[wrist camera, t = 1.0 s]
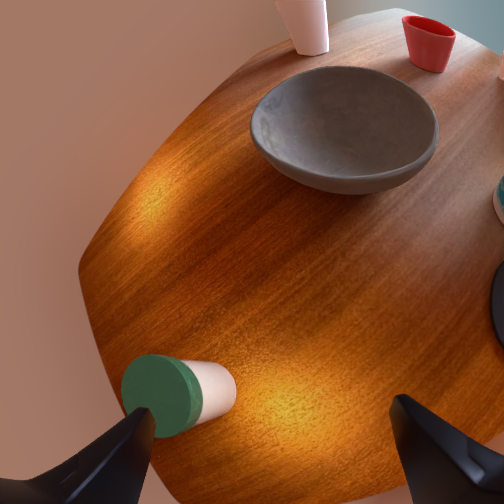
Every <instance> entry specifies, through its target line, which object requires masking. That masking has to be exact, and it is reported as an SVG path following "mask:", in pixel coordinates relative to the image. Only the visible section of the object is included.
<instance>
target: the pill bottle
mask: <svg viewBox="0 0 504 504" xmlns="http://www.w3.org/2000/svg"><path fill="white" fill-rule="evenodd" d="M493 203H494V208H495V211H496V213H497V215H498V217H499V219H500V221H501V222H502V223H503V225H504V175H503V177H502V178H501V180H500V181H499V183H498V185H497V186H496V188H495V190H494V193H493Z"/></svg>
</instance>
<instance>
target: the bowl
mask: <svg viewBox="0 0 504 504" xmlns="http://www.w3.org/2000/svg"><path fill="white" fill-rule="evenodd" d="M250 134H251V138H252V140H253V142H254V145H255V147H256V148H257V149H258V151H259V152H260V154H261V155H262V156H263V157H264V158H265V159H266V160H267V161H268V162H269V163H270V164H271V165H272V166H273V167H274V168H275V169H276V170H278V171H279V172H280V173H282V174H284V175H285V176H287V177H289V178H291V179H293V180H295V181H296V182H299V183H301V184H303V185H306V186H309V187H312V188H315V189H319V190H322V191H326V192H331V193H338V194H369V193H375V192H380V191H385V190H388V189H391V188H394V187H397V186H399V185H401V184H403V183H405V182H407V181H408V180H409V179H411V178H412V177H413V176H415V175H416V174H417V173H418V172H419V171H420V170H421V169H422V168H423V167H424V166H425V165H426V164H427V163H428V161H429V160H430V159H431V157H432V155H433V154H434V151H435V149H436V147H437V143H438V137H439V126H438V121H437V118H436V115H435V113H434V111H433V109H432V108H431V106H430V105H429V104H428V102H427V101H426V100H425V99H424V98H423V97H422V96H421V95H420V94H419V93H418V92H417V91H416V90H414V89H413V88H412V87H410V86H409V85H408V84H406V83H404V82H403V81H401V80H399V79H397V78H395V77H393V76H390V75H388V74H385V73H383V72H380V71H376V70H372V69H368V68H362V67H353V66H326V67H320V68H316V69H312V70H308V71H305V72H302V73H299V74H297V75H294V76H292V77H290V78H288V79H286V80H285V81H283V82H282V83H280V84H279V85H277V86H276V87H274V88H273V89H272V90H271V91H270V92H268V93H267V94H266V95H265V96H264V97H263V98H262V99H261V100H260V101H259V103H258V104H257V105H256V108H255V110H254V112H253V114H252V117H251V122H250Z"/></svg>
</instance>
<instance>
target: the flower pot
mask: <svg viewBox="0 0 504 504" xmlns="http://www.w3.org/2000/svg"><path fill="white" fill-rule="evenodd" d="M402 23H403V28H404V32H405V37H406V42H407V46H408V51H409V56H410V60H411V61H412V63H414V64H415V65H416V66H418V67H420V68H422V69H426V70H428V71H431V72H443V71H444V70H445V68H446V65H447V63H448V60H449V57H450V54H451V51H452V48H453V45H454V41H455V38H456V34H455V32H454V31H453V30H452V29H451V28H449V27H448V26H446V25H444V24H442V23H440V22H438V21H435V20H432V19H429V18H425V17H420V16H405V17H403V18H402Z"/></svg>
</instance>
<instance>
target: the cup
mask: <svg viewBox="0 0 504 504" xmlns="http://www.w3.org/2000/svg"><path fill="white" fill-rule="evenodd" d="M274 2H275V4H276V6H277V8H278V10H279V12H280V14H281V17H282V18H283V21H284V23H285V25H286V28H287V30H288V32H289V34H290V36H291V39H292V41H293V44H294V46H295V49H296V51H297V53H298V54H301V55H308V56H316V55H319V54H323V53H326V52H328V51H329V43H328V27H327V15H326V4H325V0H274Z"/></svg>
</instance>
